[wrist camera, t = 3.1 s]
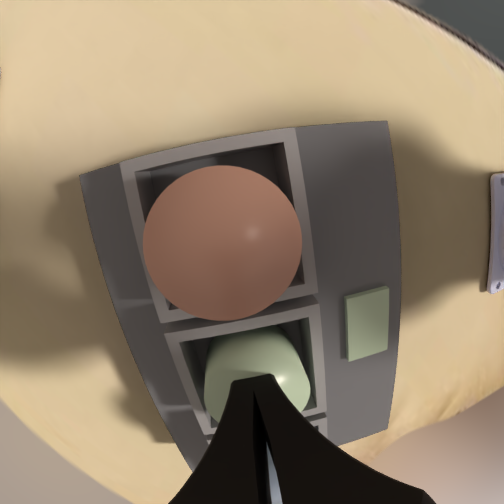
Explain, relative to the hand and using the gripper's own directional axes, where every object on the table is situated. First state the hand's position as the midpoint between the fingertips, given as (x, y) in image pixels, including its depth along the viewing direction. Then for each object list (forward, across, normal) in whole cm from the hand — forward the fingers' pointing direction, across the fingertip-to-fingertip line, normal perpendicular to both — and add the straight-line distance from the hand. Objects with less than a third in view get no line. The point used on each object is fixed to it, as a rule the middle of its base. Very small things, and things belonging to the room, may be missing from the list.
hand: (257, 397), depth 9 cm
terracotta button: (+1, 0, -6) cm, 6 cm away
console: (+5, -1, 0) cm, 5 cm away
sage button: (+2, 0, 0) cm, 2 cm away
